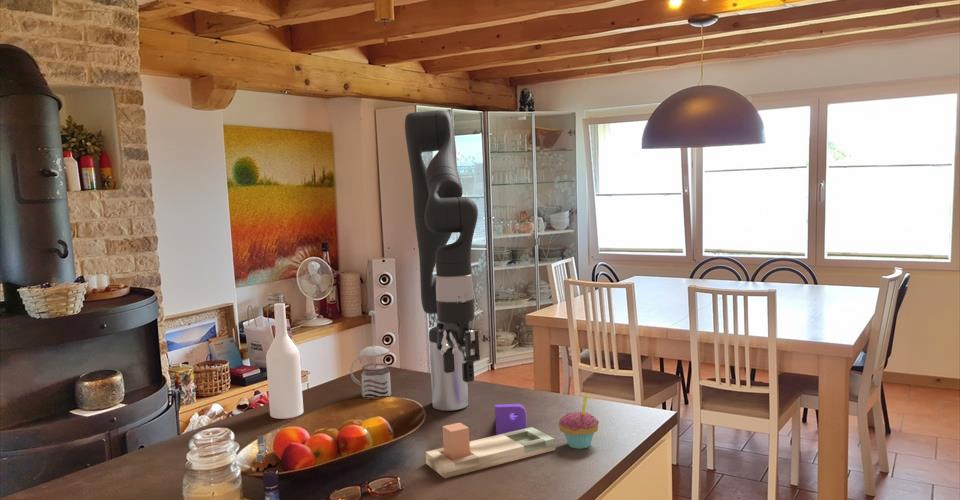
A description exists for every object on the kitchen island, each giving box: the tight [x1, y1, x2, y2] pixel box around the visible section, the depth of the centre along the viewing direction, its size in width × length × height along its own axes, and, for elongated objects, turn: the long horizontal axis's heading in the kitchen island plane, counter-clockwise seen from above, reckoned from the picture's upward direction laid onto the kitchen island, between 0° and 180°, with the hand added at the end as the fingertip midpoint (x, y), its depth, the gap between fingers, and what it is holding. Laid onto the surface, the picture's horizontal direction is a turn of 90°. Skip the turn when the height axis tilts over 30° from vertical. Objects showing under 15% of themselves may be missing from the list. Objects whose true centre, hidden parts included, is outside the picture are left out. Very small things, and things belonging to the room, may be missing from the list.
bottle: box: [265, 302, 304, 420], centre depth 174 cm, size 8×8×30 cm
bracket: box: [494, 403, 527, 435], centre depth 164 cm, size 12×7×7 cm, turn 176°
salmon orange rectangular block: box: [442, 422, 471, 460], centre depth 141 cm, size 4×4×7 cm
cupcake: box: [558, 391, 600, 450], centre depth 149 cm, size 9×8×12 cm
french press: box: [349, 310, 392, 398], centre depth 188 cm, size 10×12×25 cm
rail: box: [425, 426, 556, 479], centre depth 145 cm, size 9×26×2 cm, turn 118°
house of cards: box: [255, 435, 270, 463], centre depth 143 cm, size 9×9×8 cm
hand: (458, 376), depth 140 cm, fingers open, 8 cm apart
